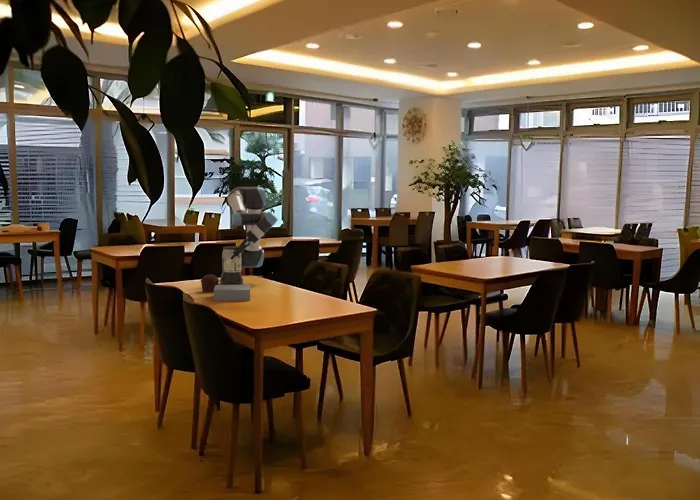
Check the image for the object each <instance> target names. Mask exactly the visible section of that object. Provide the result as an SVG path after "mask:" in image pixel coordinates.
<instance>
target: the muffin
mask: <svg viewBox="0 0 700 500" xmlns="http://www.w3.org/2000/svg"><path fill="white" fill-rule="evenodd" d="M200 284H201V289H202V293H214V288H215V285H219V284H220V278H219V277H218V276H216V275H215V274H206V275H204V276H203V277H202V278H201V280H200Z"/></svg>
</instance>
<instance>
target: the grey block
mask: <svg viewBox="0 0 700 500" xmlns="http://www.w3.org/2000/svg"><path fill="white" fill-rule="evenodd" d="M223 300H224V301H223ZM229 301H230V302H232V301H235V302H236V301H241V302H242V301H244V302H245V301H251V284H240V285H221V284H218V285H215V288H214V292H213V302H229Z"/></svg>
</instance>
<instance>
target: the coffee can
mask: <svg viewBox="0 0 700 500" xmlns="http://www.w3.org/2000/svg"><path fill="white" fill-rule="evenodd" d="M239 247H240V246H239V245H227V246H223V247H222V248H223V249H222V250H223V251H222V252H224V272H242V270H243V268H242V266H241V253H240V254H239V255H238V256H237V257H236V258H235V259H234V260H233V261H232V262H231V263H230V264H229V265H228V264H227V263H226V262H225V261H226V260H227V259H228V258H229V257H230V256H231V255H232V254H233V252H235V251H236V250H237V249H238V248H239Z"/></svg>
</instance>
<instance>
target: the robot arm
mask: <svg viewBox="0 0 700 500" xmlns="http://www.w3.org/2000/svg"><path fill="white" fill-rule="evenodd" d="M226 200H227V203H228V206H230V207H231V209H232V214H231V223H232V225H233V226H239V227H240V226H243V227H244V226H245V227H246V233H245V236H246V238H244V239H243V240H242V242H241V243H240V244H239V245H238V246H240V247H239V248H238V249H237V250H236V251H235V252H233V254H232V255H231V256H230V257H229V258H228V259H227V260H226V261H225V262H226V263H227V264H228V265H229V264H230V263H231V262H232V261H233V260H234V259H235V258H236V257H237V256H238V255H239V254H240V253H241V266H242V269H243V268H260V267H262V265H263V263H264V260H265V251H264V249H262V248H263V247H262V246H261V245H260V242H261V241H260V240H261V238H262V237H264V236H265V234H266V233H267V232H268V231H269V230H271V228H272V227H273V226H274V225H275V224H277V222H278V220H279V219H278V218H277V217H276V216H275V215H274V214H273V213H272V212H271V211H267V212H266V211H264V210H263V209H264V206H266V205H267V196H266V191H265V188H263V187H261V186H236V187H235V188H233V189H232V190H231V191H229V192H228V194H227V199H226ZM262 210H263V211H262ZM221 258H222V259H221V260H222V261H221V263H222V266H221V267H222V270H221V271H222V273H221V276H220V278H219V285H244V279H243V276H242V273H241V272H242V271H241V272H224V252H223V251H222V254H221Z"/></svg>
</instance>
